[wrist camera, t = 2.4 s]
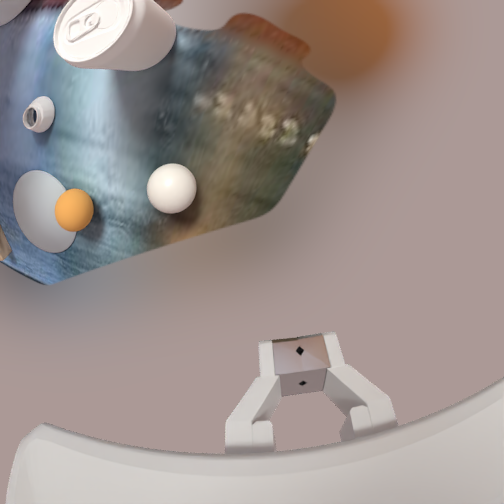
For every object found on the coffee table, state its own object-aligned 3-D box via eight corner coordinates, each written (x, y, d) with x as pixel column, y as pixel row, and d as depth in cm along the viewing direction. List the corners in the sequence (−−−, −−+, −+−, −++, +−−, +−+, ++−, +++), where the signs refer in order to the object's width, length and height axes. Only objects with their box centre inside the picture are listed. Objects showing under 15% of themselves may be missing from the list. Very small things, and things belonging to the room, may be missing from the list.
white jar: (31, 98, 22) (31, 132, 25) (18, 102, 20) (18, 138, 23) (56, 93, 23) (56, 129, 26) (43, 95, 21) (43, 134, 23)
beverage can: (182, 60, 23) (144, 44, 13) (115, 80, 23) (53, 84, 13) (173, 0, 19) (136, -39, 9) (107, 23, 19) (47, 6, 9)
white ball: (150, 163, 29) (134, 177, 25) (195, 154, 29) (185, 167, 25) (161, 204, 32) (148, 225, 28) (203, 197, 32) (197, 218, 28)
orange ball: (63, 187, 30) (41, 204, 25) (93, 178, 30) (71, 194, 25) (76, 222, 33) (57, 242, 28) (105, 215, 33) (87, 236, 28)
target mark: (4, 184, 28) (3, 184, 28) (58, 158, 28) (57, 158, 27) (34, 256, 36) (33, 257, 36) (90, 246, 35) (89, 247, 35)
